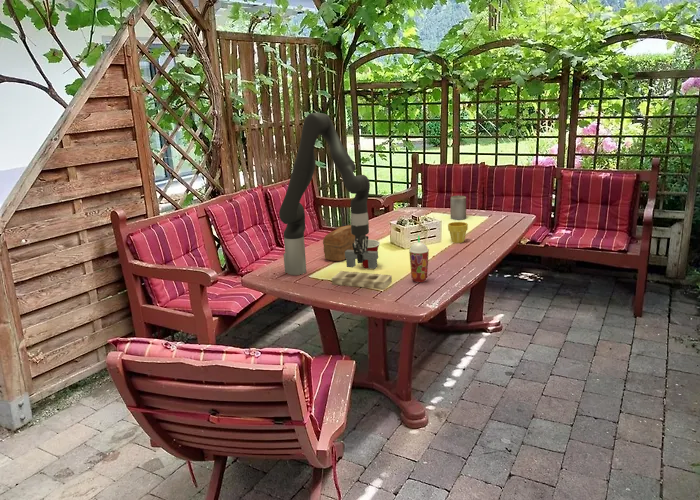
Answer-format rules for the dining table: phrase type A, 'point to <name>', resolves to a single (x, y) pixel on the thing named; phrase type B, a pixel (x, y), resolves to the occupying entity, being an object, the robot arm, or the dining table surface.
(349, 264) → the grey bridge block
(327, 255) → the bread
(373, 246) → the plastic cup
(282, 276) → the dining table surface
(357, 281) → the ice cube tray
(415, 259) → the smoothie
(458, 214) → the pillar candle
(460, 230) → the plant pot
